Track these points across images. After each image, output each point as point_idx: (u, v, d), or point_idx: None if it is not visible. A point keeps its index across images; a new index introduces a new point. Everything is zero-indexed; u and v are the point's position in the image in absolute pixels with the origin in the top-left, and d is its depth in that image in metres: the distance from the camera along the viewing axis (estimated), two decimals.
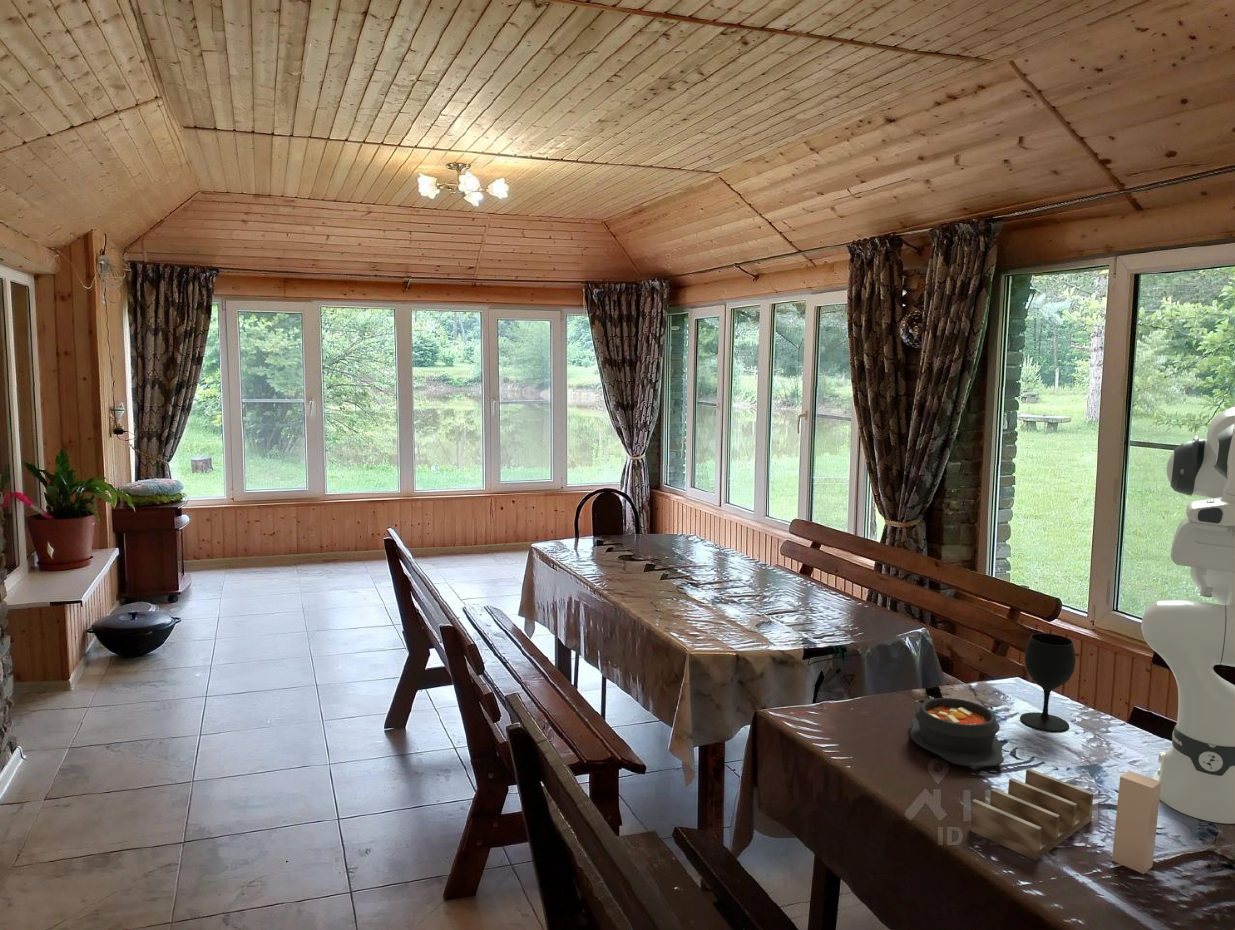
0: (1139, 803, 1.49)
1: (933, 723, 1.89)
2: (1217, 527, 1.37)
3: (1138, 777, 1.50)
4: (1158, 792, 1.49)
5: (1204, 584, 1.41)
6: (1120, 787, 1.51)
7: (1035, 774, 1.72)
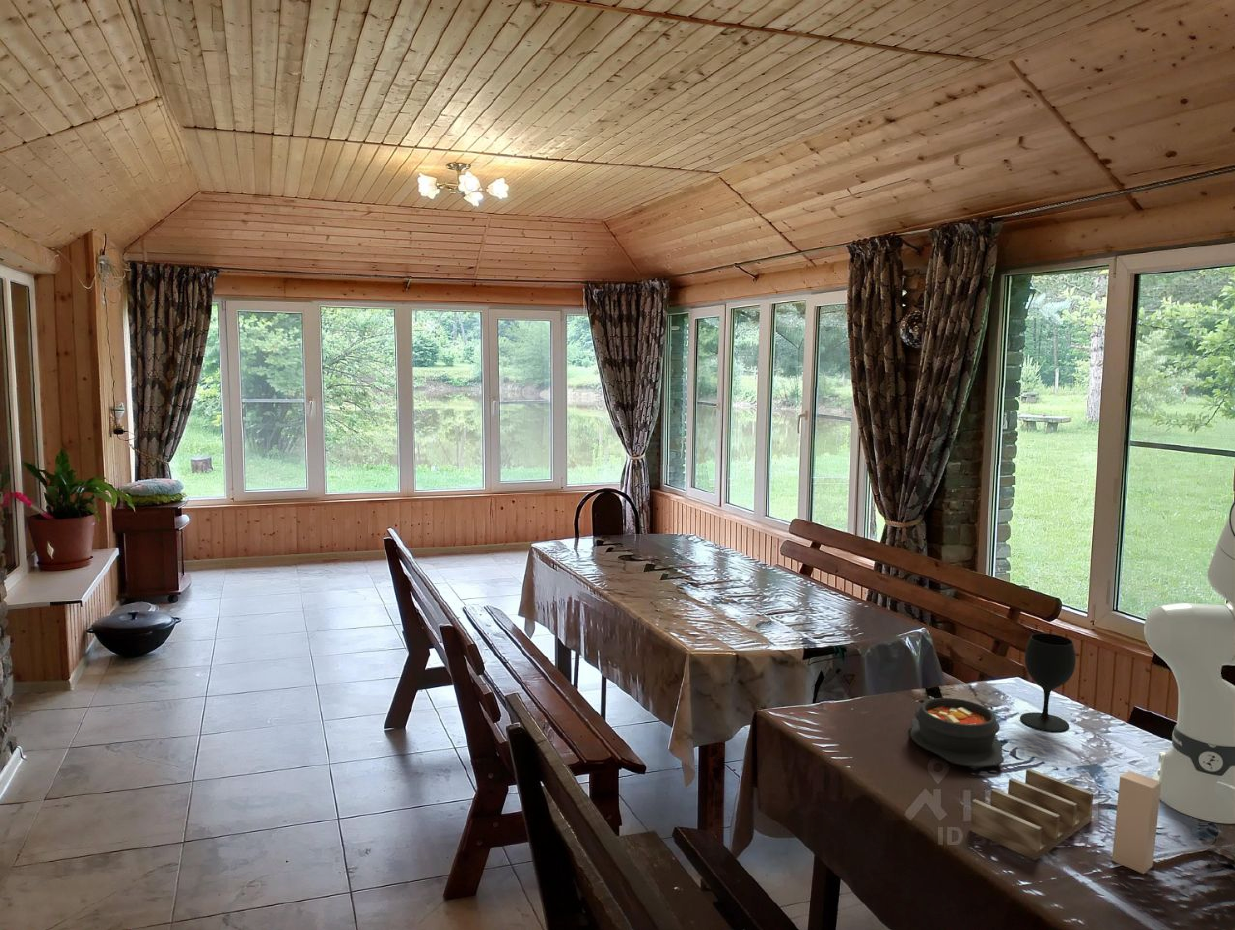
0: (1139, 803, 1.49)
1: (933, 723, 1.89)
2: None
3: (1138, 777, 1.50)
4: (1158, 792, 1.49)
5: None
6: (1120, 787, 1.51)
7: (1035, 774, 1.72)
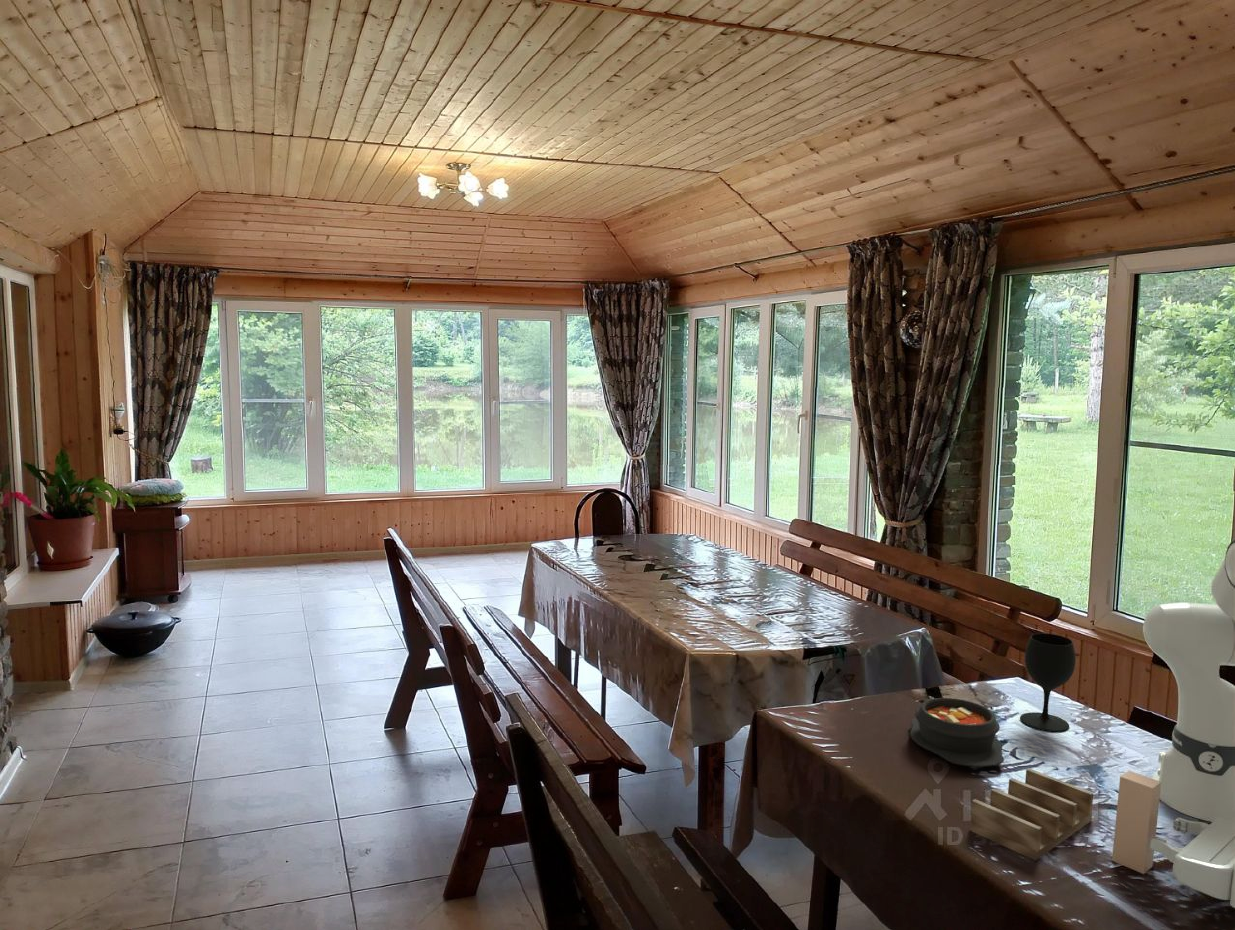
0: (1139, 803, 1.49)
1: (933, 723, 1.89)
2: None
3: (1138, 777, 1.50)
4: (1158, 792, 1.49)
5: None
6: (1120, 787, 1.51)
7: (1035, 774, 1.72)
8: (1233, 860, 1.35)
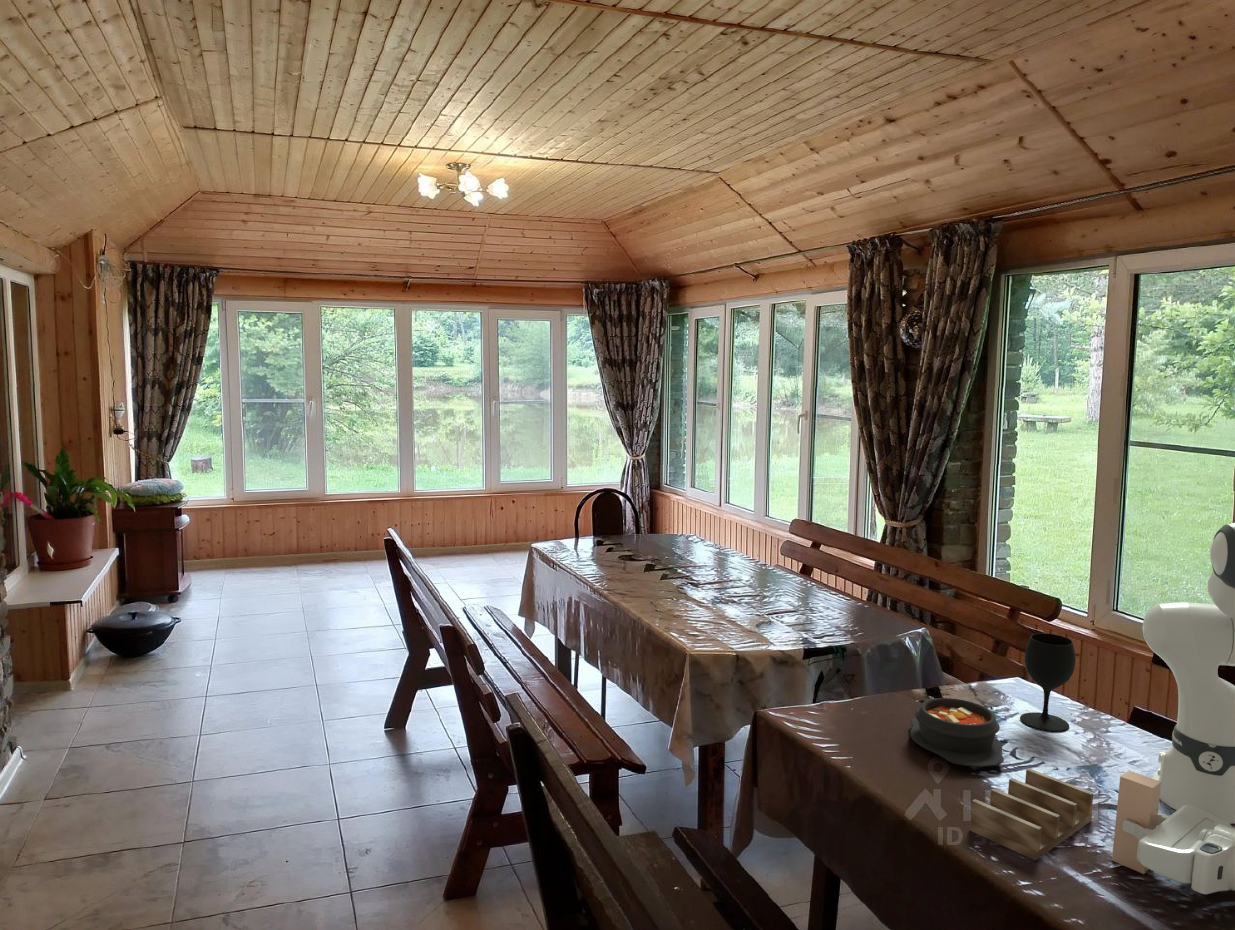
0: (1139, 803, 1.49)
1: (933, 723, 1.89)
2: None
3: (1138, 777, 1.50)
4: (1158, 792, 1.49)
5: None
6: (1120, 787, 1.51)
7: (1035, 774, 1.72)
8: (1195, 845, 1.39)
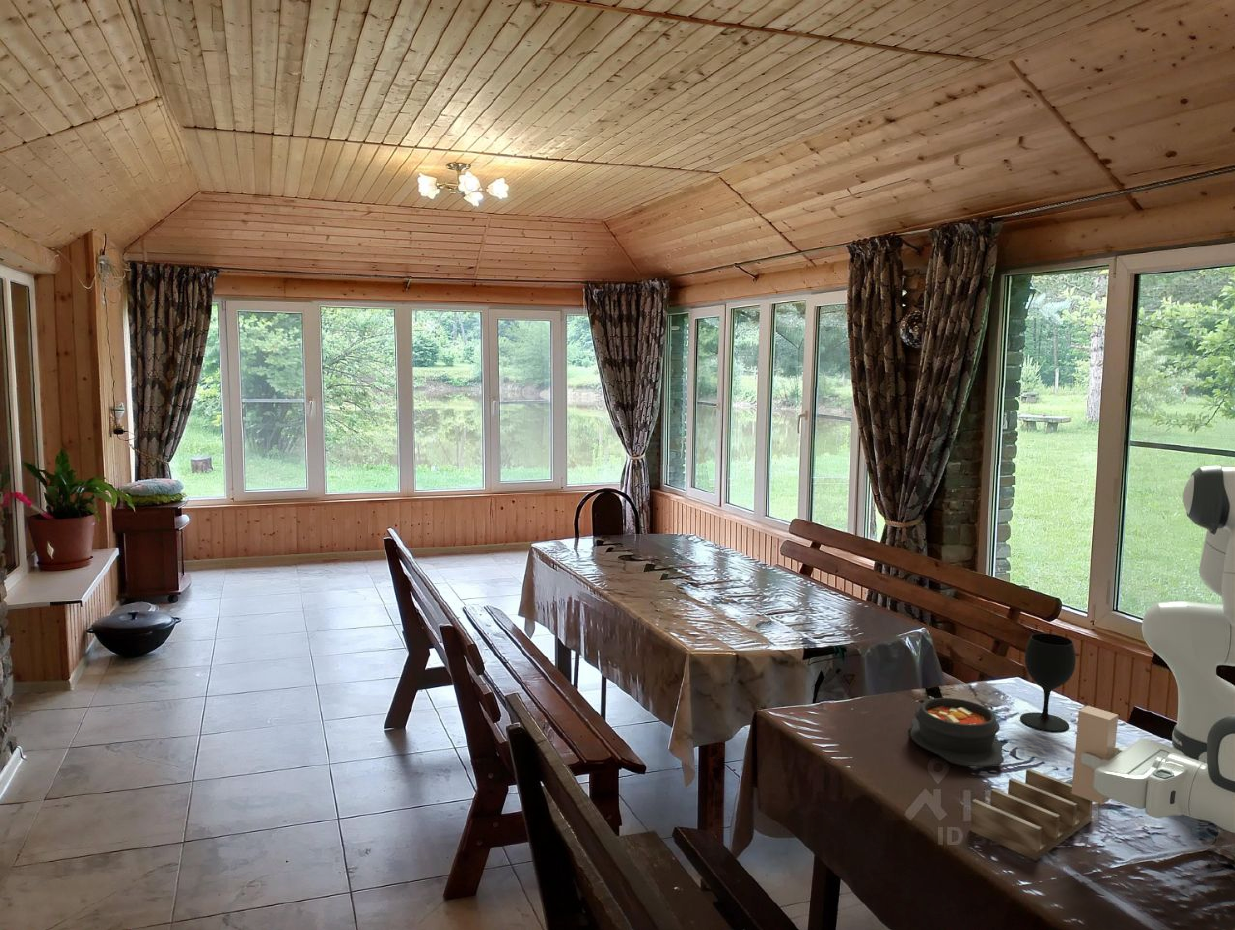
0: (1097, 736, 1.52)
1: (933, 723, 1.89)
2: None
3: (1096, 711, 1.54)
4: (1115, 725, 1.52)
5: None
6: (1079, 721, 1.54)
7: (1035, 774, 1.72)
8: (1149, 771, 1.43)
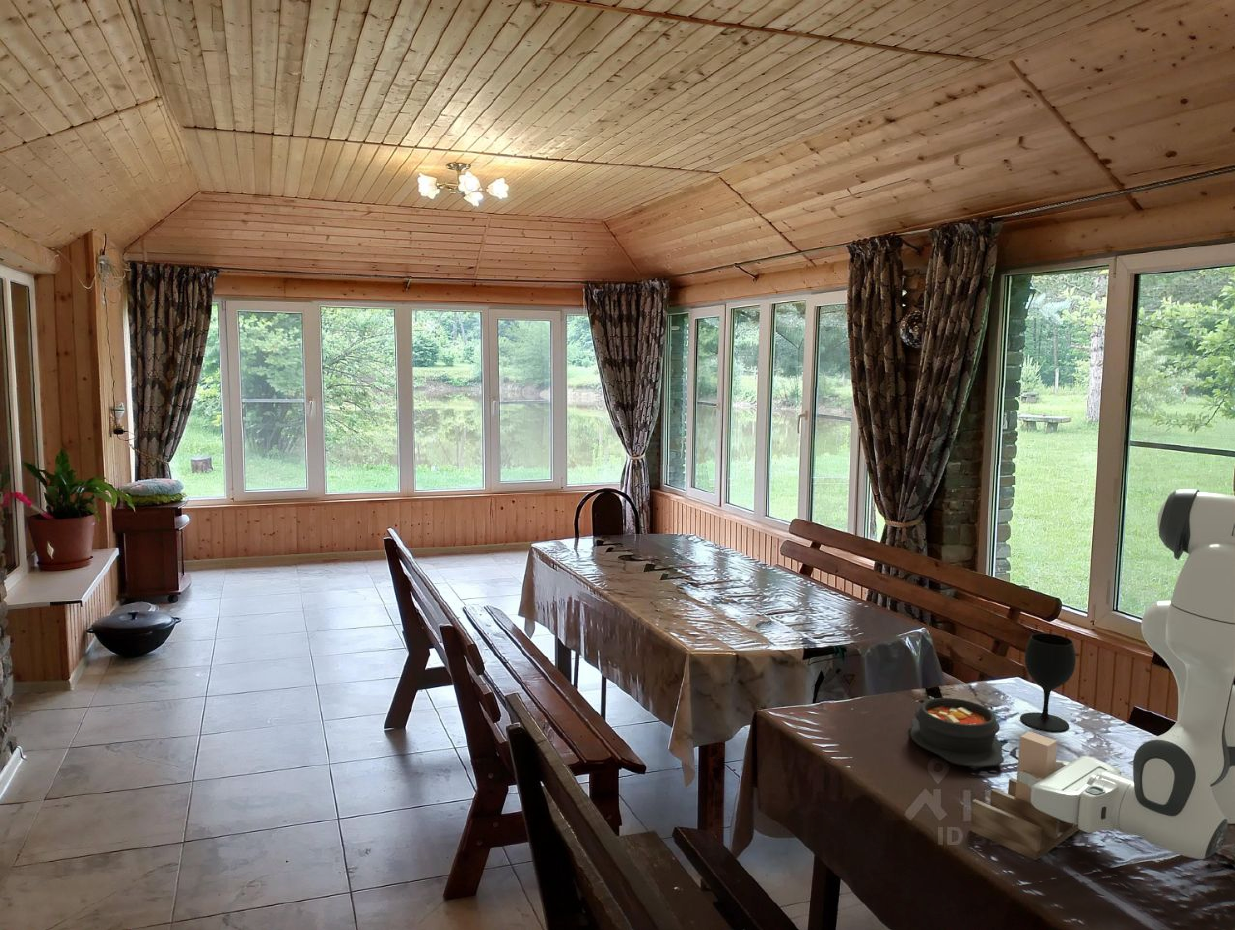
0: (1036, 761, 1.60)
1: (933, 723, 1.89)
2: None
3: (1036, 737, 1.62)
4: (1054, 750, 1.60)
5: None
6: (1020, 746, 1.62)
7: None
8: (1082, 788, 1.50)
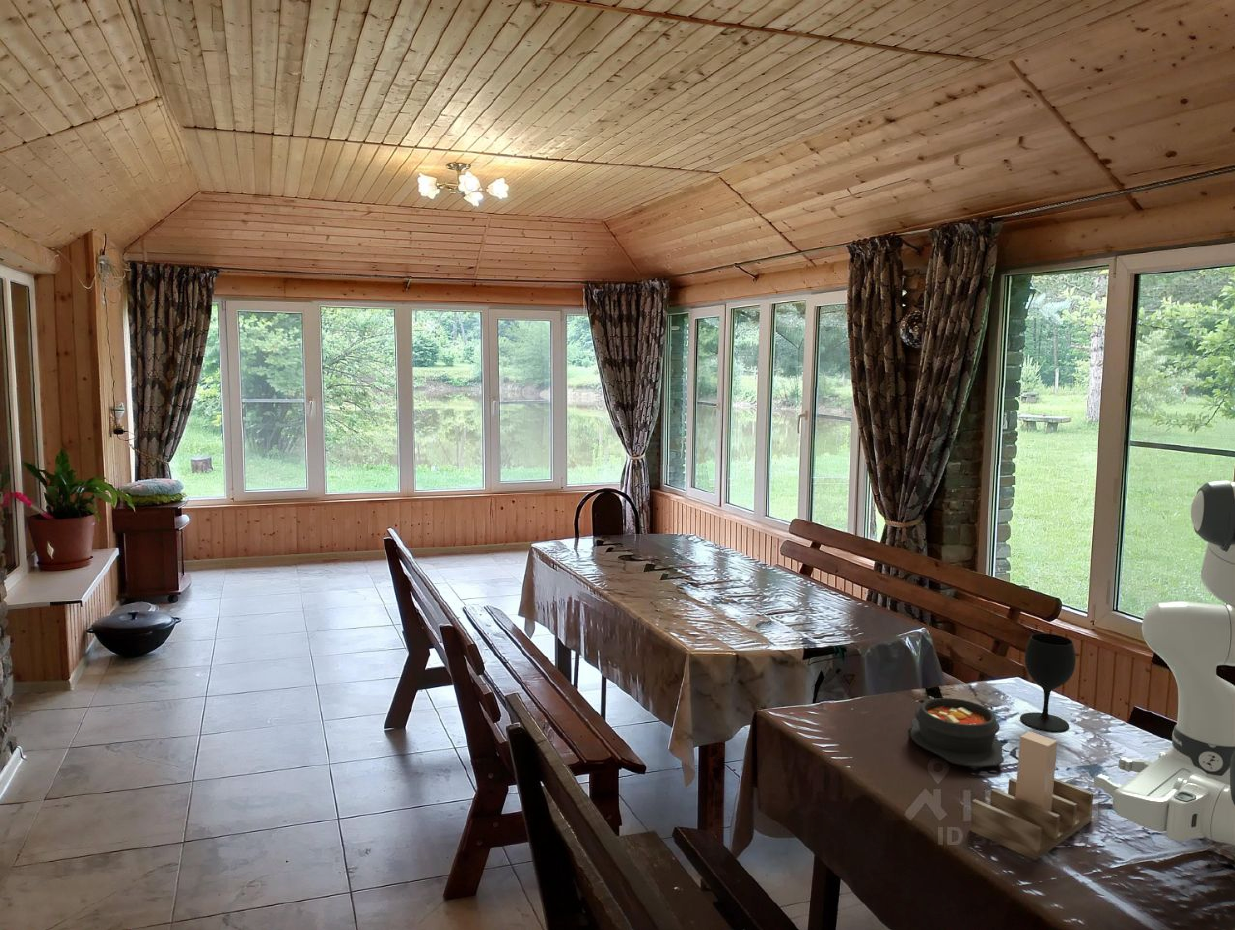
0: (1036, 761, 1.60)
1: (933, 723, 1.89)
2: None
3: (1036, 737, 1.62)
4: (1054, 750, 1.60)
5: None
6: (1020, 746, 1.62)
7: None
8: (1169, 794, 1.40)
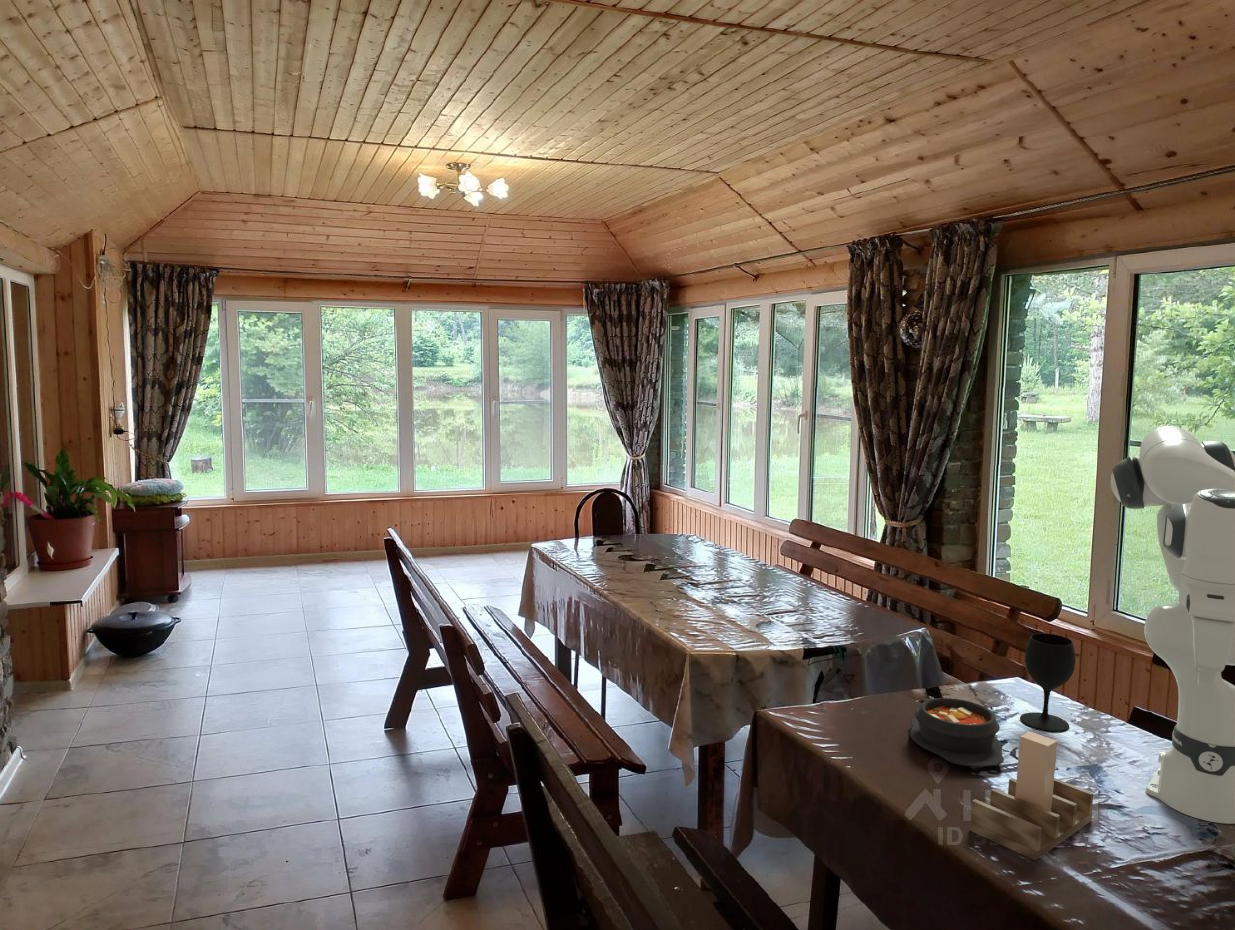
0: (1036, 761, 1.60)
1: (933, 723, 1.89)
2: None
3: (1036, 737, 1.62)
4: (1054, 750, 1.60)
5: (1213, 679, 1.37)
6: (1020, 746, 1.62)
7: None
8: (1191, 617, 1.37)
